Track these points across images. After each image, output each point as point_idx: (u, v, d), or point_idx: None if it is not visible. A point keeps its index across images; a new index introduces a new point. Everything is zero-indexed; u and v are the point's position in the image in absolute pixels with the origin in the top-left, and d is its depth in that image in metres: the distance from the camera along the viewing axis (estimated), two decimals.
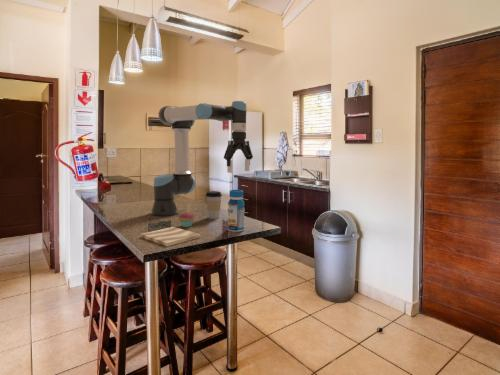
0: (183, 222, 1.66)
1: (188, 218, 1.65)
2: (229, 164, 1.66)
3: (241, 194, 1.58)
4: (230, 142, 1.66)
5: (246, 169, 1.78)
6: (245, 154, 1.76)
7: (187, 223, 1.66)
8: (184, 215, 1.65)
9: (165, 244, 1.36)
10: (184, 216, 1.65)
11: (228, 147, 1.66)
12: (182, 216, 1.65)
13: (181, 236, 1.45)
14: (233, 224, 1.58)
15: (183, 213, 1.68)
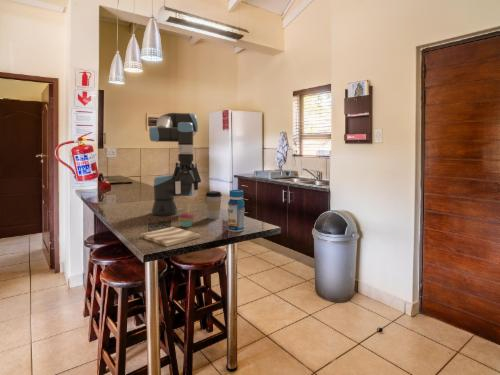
0: (183, 222, 1.66)
1: (188, 218, 1.65)
2: None
3: (241, 194, 1.58)
4: None
5: None
6: None
7: (187, 223, 1.66)
8: (184, 215, 1.65)
9: (165, 244, 1.36)
10: (184, 216, 1.65)
11: None
12: (182, 216, 1.65)
13: (181, 236, 1.45)
14: (233, 224, 1.58)
15: (183, 213, 1.68)
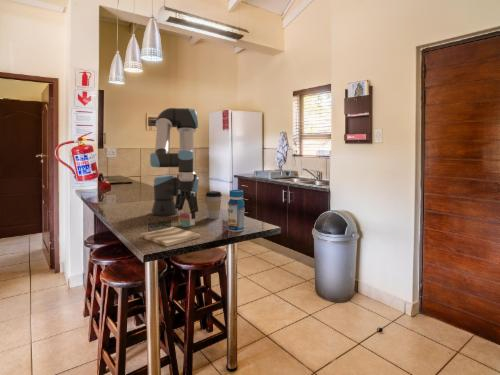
0: (183, 222, 1.66)
1: (188, 218, 1.65)
2: (179, 213, 1.71)
3: (241, 194, 1.58)
4: None
5: None
6: None
7: (187, 223, 1.66)
8: (184, 215, 1.65)
9: (165, 244, 1.36)
10: (185, 216, 1.65)
11: None
12: (182, 216, 1.65)
13: (181, 236, 1.45)
14: (233, 224, 1.58)
15: (183, 213, 1.67)
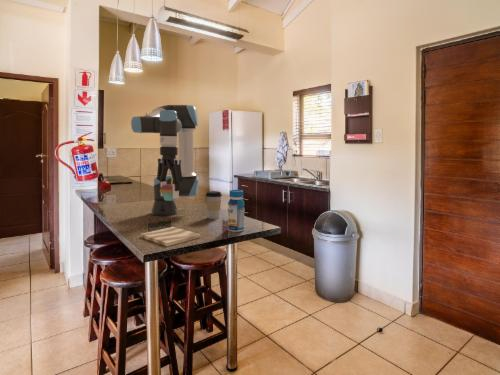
0: (165, 195, 1.43)
1: (171, 190, 1.42)
2: (161, 186, 1.48)
3: (241, 194, 1.58)
4: None
5: None
6: None
7: (170, 196, 1.43)
8: (166, 186, 1.42)
9: (165, 244, 1.36)
10: (167, 187, 1.42)
11: None
12: (164, 188, 1.42)
13: (181, 236, 1.45)
14: (233, 224, 1.58)
15: (166, 185, 1.45)
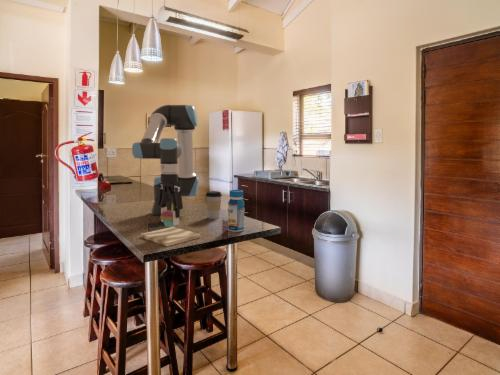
0: (166, 221, 1.44)
1: (171, 217, 1.43)
2: None
3: (241, 194, 1.58)
4: None
5: None
6: None
7: (170, 222, 1.45)
8: (167, 213, 1.44)
9: (165, 244, 1.36)
10: (167, 214, 1.44)
11: None
12: (165, 214, 1.44)
13: (181, 236, 1.45)
14: (233, 224, 1.58)
15: (166, 211, 1.46)
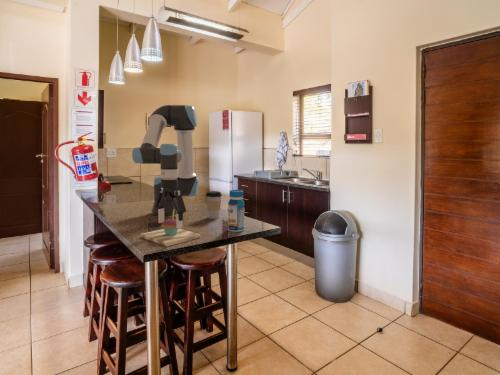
0: (167, 230, 1.45)
1: (172, 225, 1.43)
2: None
3: (241, 194, 1.58)
4: None
5: None
6: None
7: (171, 231, 1.45)
8: (168, 222, 1.44)
9: (165, 244, 1.36)
10: (168, 223, 1.44)
11: None
12: (166, 223, 1.44)
13: (181, 236, 1.45)
14: (233, 224, 1.58)
15: (167, 219, 1.46)
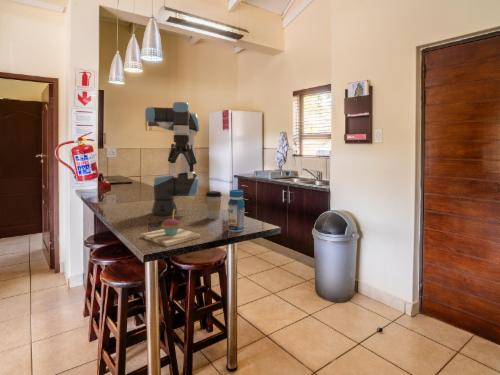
0: (167, 230, 1.45)
1: (172, 225, 1.44)
2: None
3: (241, 194, 1.58)
4: None
5: None
6: None
7: (171, 231, 1.45)
8: (168, 222, 1.44)
9: (165, 244, 1.36)
10: (168, 222, 1.44)
11: None
12: (166, 223, 1.44)
13: (181, 236, 1.45)
14: (233, 224, 1.58)
15: (167, 219, 1.46)
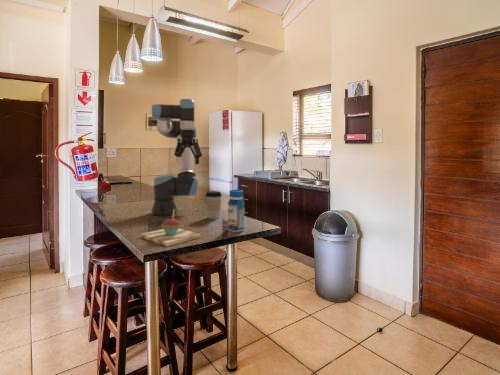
0: (167, 230, 1.45)
1: (172, 225, 1.44)
2: None
3: (241, 194, 1.58)
4: None
5: None
6: None
7: (171, 231, 1.45)
8: (168, 222, 1.44)
9: (165, 244, 1.36)
10: (168, 222, 1.44)
11: None
12: (166, 223, 1.44)
13: (181, 236, 1.45)
14: (233, 224, 1.58)
15: (167, 219, 1.46)
